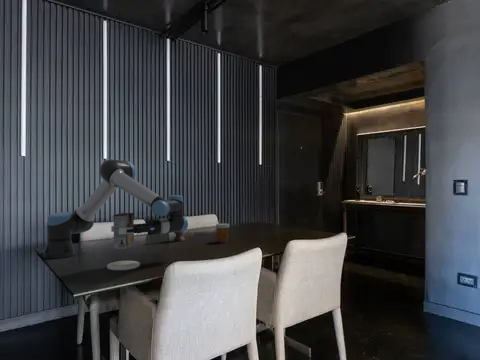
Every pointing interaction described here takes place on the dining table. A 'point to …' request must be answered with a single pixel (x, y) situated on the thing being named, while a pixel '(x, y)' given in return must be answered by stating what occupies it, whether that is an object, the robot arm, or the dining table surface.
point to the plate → (123, 265)
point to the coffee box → (123, 222)
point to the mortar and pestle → (179, 236)
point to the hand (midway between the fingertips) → (115, 230)
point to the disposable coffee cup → (222, 232)
